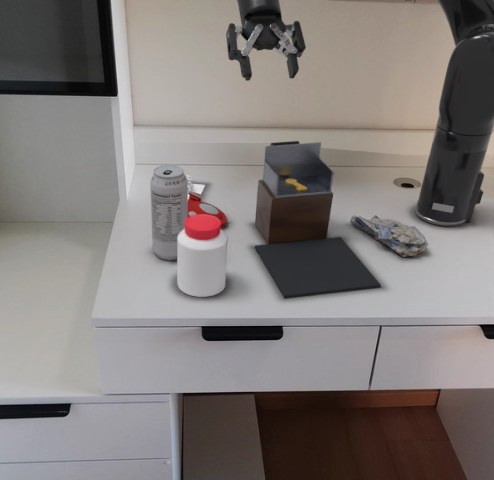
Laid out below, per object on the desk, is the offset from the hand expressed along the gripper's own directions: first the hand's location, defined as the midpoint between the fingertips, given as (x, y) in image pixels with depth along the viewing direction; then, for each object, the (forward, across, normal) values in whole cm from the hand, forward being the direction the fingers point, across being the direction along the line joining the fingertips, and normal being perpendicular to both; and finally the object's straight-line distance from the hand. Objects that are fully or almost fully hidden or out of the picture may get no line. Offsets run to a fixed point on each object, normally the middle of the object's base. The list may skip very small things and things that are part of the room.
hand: (271, 77), depth 113 cm
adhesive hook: (+14, -16, +19) cm, 28 cm away
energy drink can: (+31, -23, +2) cm, 38 cm away
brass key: (+22, 0, -3) cm, 22 cm away
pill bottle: (+38, -20, -5) cm, 43 cm away
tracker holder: (+23, -15, +10) cm, 29 cm away
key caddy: (+21, 0, -1) cm, 21 cm away
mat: (+37, 0, -5) cm, 37 cm away
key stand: (+28, 0, +4) cm, 29 cm away
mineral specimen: (+33, +17, 0) cm, 37 cm away
